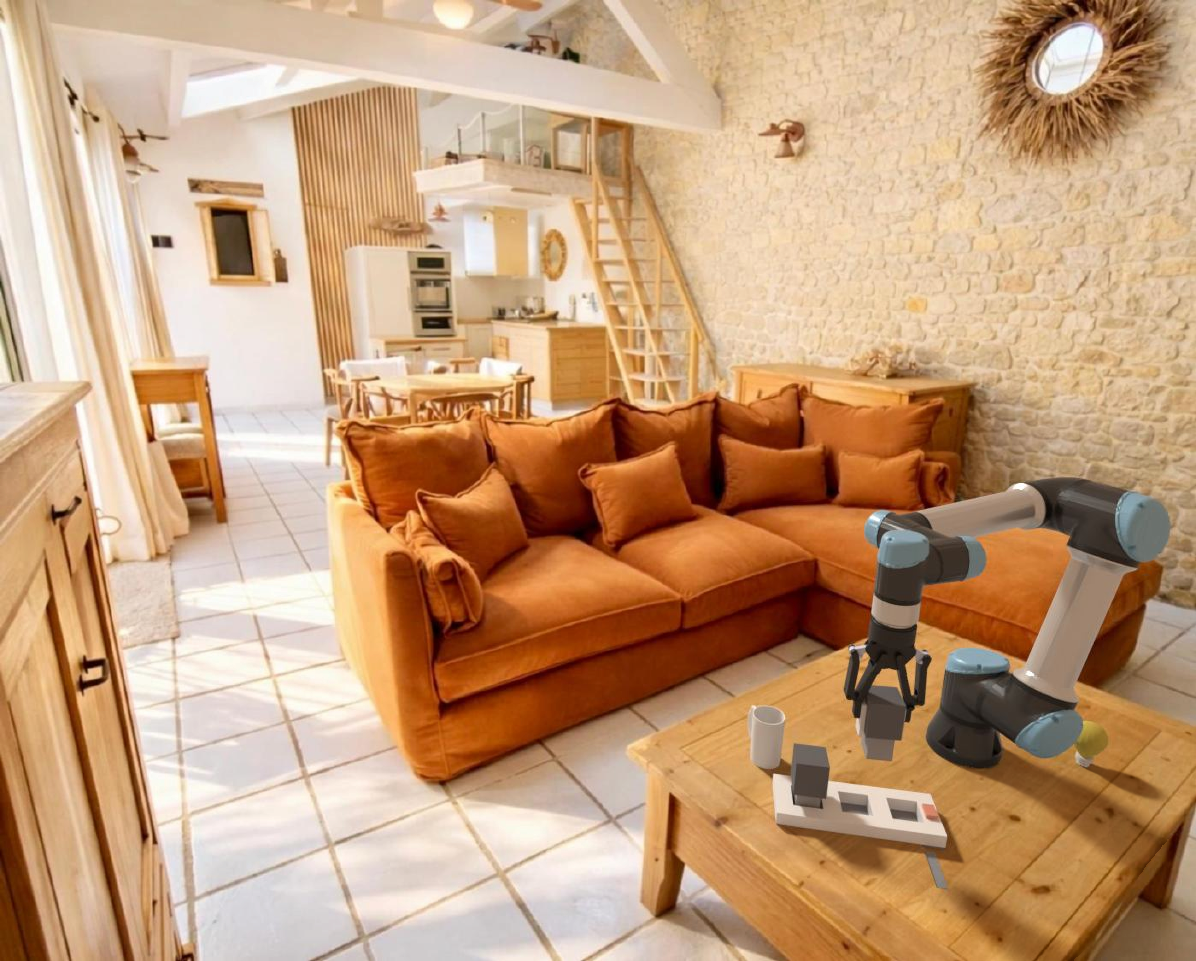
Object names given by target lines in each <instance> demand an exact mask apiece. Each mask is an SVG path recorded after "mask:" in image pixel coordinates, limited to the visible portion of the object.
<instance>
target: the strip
mask: <svg viewBox="0 0 1196 961" xmlns="http://www.w3.org/2000/svg"><path fill="white" fill-rule="evenodd" d="M771 785H772V795H773V806H774V808H773V809H774V817H775V818H774V819H775V825H781V826H787V827H795V828H802V829H808V830H816V831H821V832H829V833H830V832H831V833H835V834H837V833H838V834H843V835H850V836H858V837H864V838H873V839H880V840H886V841H892V842H899V843H900V842H901V843H906V844H913V845H914V844H915V845H921V846H922V848H923V847H924V848H930V849H936V850H942V851H946V846H947V841H948V834H947V832H946V829H945V827H944V825H943V822H942V820H941V817H940V814H939V812H938V810H937V807H936V804H935V801H934V799H933V798H932V795H931V793H923V792H918V791H917V792H916V791H911V790H909V791H908V790H903V789H902V790H901V789H893V788H886V787H878V786H871V785H865V784H864V785H862V784H856V783H848V782H841V781H834V780H828V788H827V796H826V799H822V798H821V801H820V809H819V808H811V807H804V806H797V805H794V802H793V788H792V780H791V775H788V774H787V775H786V774H780V773H779V774H778V773H772V784H771Z"/></svg>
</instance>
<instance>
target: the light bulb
mask: <svg viewBox="0 0 1196 961" xmlns="http://www.w3.org/2000/svg"><path fill="white" fill-rule="evenodd" d="M1073 745H1074V748H1075V749H1076V751H1075V754H1074V758H1075V759H1076V764H1077V763H1078V764H1077V765H1079V766H1080V765H1081V766H1080V767H1083V766H1084V768H1089V767H1090V765H1091V764H1093V763H1094V757H1095V756H1097V755H1099V754H1100V753H1102V752H1103V751H1104V750H1106V749H1107V747H1108V745H1109V736H1108V733H1107V732H1106V730H1105V729H1104V728H1103V727H1102V726H1101V725H1099V724H1098V723H1096V722H1094V721H1090V720H1083V730H1082V733H1081V735H1080V736H1079V738H1078V739H1077V741H1076V742H1075V743H1074V744H1073Z"/></svg>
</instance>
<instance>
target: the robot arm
mask: <svg viewBox="0 0 1196 961" xmlns="http://www.w3.org/2000/svg"><path fill="white" fill-rule="evenodd" d="M863 528H864V530H863V535H864V538H865V540H866V541H867V543H868V544H870V545H871V546H873V547H875V548H876V549H877V550H878V552H877V553H876V554H877V560H876V561H877V562H876V570H875V580H874V590H873V597H872V603H871V604H872V605H871V616H870V620H869V625H868V635H867V639H866V641H865V642H864V644H863V645H855V644H852V643H851V644H849V645H848V647H847V648H848V654H849V659H848V665H847V669H846V675H845V680H844V685H843V693H844V695H845V698H846V700H847V701H852V706H851V707H852V708H851V712H852V714H853V718H854V719H856V720H855V730H856V732H857V736H858V737H859V738H862V737H863V733H864V725H865V718H866V710H867V704H866V702H865V698H866V696H867V694H868V692H869V690H870V688H871V686H872V685H874V683H875V680H876V678H877V676H878V675H880V673H881V672H882V670H888V669H890V670H893V671H896V674H897V680H898V683H899V687H900V694H901V696H902V699H903V701H904V703H905V705H906V712H905V719H904V724H905V723H910V722H911V720H912V712H914V711H915V709H916V707H917V706H919V707H924V705H925V704H926V693H927V680H928V669H929V667H930V665H931V663H932V661H933V659H932V657H931V655H930V653H929V652H928V651H927V649H921V650H920V649H918V648H916V646H915V643H916V638H917V631H918V622H919V619H920V610H921V604H922V603H921V601H922V600H923V599H922V597H923V591H924V587H926V586H933V585H940V584H948V583H953V582H954V583H955V582H963V581H966V580H969V579H970V580H971V579H974V578H977V577H979V576H981V574H982V573H983V572H984V571H985V569H986V565H987V554H986V551H985V548H984V547H983V545H982V543H981V542H980V541H979V540H977V539H976V538H979V537H983V536H987V535H988V536H989V535H991V534H996V533H1000V532H1004V531H1008V530H1013V529H1018V528H1019V529H1021V530H1025V531H1030V530H1034V529H1045V530H1049V531H1053V532H1058V533H1061V534H1063V535H1064V536H1065V535H1066V536H1068V537H1069V538H1068V540H1067V542H1066V545H1065V547H1066V549H1067V551H1068V552H1069V554H1070V559H1069V562H1068V564H1067V566H1066V569H1065V570H1064V573H1063V576H1062V578H1061V581H1060V582H1059V585H1058V587H1057V590H1056V592H1055V595H1054V597H1053V599H1052V601H1051V604H1050V606H1049V608H1048V611H1047V614H1046V616H1045V618H1044V621H1043V622H1042V625H1041V627H1040V630H1039V632H1038V635H1037V637H1036V639H1035V641H1034V644H1033V645H1032V649H1031V651H1030V653H1029V655H1028V657H1027V660H1026V663H1025V665H1024V666H1023V667H1020V668H1017V669H1013V670H1012V672H1010V670H1011V662H1010V661H1009V659H1008V657H1006V656H1004V655H1003V654H1001V653H998V652H997V651H993V650H989V649H986V648H979V647H960V648H957V649H955V650H952V651H951V652H950V653H949V655H948V656H947V657H948V658H947V661H946V665H945V666H944V674H943V681H942V687H941V695H940V696H941V697H940V702H939V707H938V709H937V711H936V712H935V714H934V715H933V717H932V718H931V720H930V722H929V723H928V725H927V727H926V734H925V739H926V743H927V744H928V746H929V747H930V748H931V750H933V751H934V753H936V754H937V755H939V756H940V757H941V758H943V759H945V760H947V761H949V762H951V763H954V764H956V765H959V766H962V767H965V768H971V769H981V770H983V769H991V768H994V767H996V766H997V765H999V764H1000V762H1002V757H1003V748H1004V747H1003V743H1002V737H1001V735H1002V736H1004V737H1005V738H1006V739H1007V740H1009V741H1011V742H1012V743H1013V744H1015V745H1016V747H1017V748H1019V749H1022V750H1024V751H1026V752H1027V753H1029V754H1030V755H1032V756H1033V757H1036V758H1039V759H1051V758H1055V757H1058V756H1060V755H1062V754H1063V753H1065V752H1067V751H1068V750H1069V749H1070V748H1071V747H1073V745H1074V743H1075V742H1076V741H1077V739H1078V738H1079V736H1080V735H1081V733H1082V730H1083V721H1084V720H1083V717H1082V715H1081V714H1080V713H1079V712H1078V711H1076V708H1077V706H1078V703H1079V700H1080V698H1079V695H1078V693H1077V692H1076V690H1075V686H1076V683H1077V681H1078V679H1079V677H1080V675H1081V673H1082V670H1083V667H1084V665H1085V662H1086V661H1087V659H1088V656H1089V654H1090V652H1091V649H1092V648H1093V645H1094V642H1095V641H1096V639H1097V637H1098V634H1099V632H1100V629H1101V627H1102V625H1103V623H1104V620H1105V618H1106V616H1107V613H1108V611H1109V610H1110V607H1111V604H1112V603H1113V600H1114V598H1115V595H1116V593H1117V591H1118V589H1119V586H1120V584H1121V582H1122V580H1123V577H1124V575H1126V574H1128V573H1132V572H1135V571H1136V570H1138V569H1139V567H1140V564H1141V562H1142V563H1148V562H1151V561H1153V560H1155V559H1157V558H1158V556H1159V554H1161V553H1162V552H1163V551H1164V550H1165V548H1166V546H1167V544H1168V542H1169V538H1170V534H1171V518H1170V516H1169V512H1168V510H1167V508H1166V506H1165V505H1164V504H1163V502H1161V501H1159V500H1158V499H1156V498H1154V497H1150V496H1149V495H1145V494H1142V493H1140V492H1138V491H1133V490H1128V489H1124V488H1122V487H1121V488H1120V487H1116V486H1112V485H1109V484H1105V483H1101V482H1097V481H1093V480H1091V479H1090V480H1089V479H1086V478H1082V477H1075V476H1060V477H1059V476H1057V477H1049V478H1040V479H1034V480H1028V481H1023V482H1019V483H1014V484H1012V485H1011V486H1010V487H1008V488H1007V489H1006V490H1005V491H1002V492H998V493H997V492H996V493H993V494H989V495H984V496H979V497H974V498H970V499H965V500H961V501H957V502H952V503H947V504H944V505H939V506H933V507H930V508H926V509H921V510H916V511H911V512H907V513H906V512H905V513H902V514H901V513H900V514H897V513H896V512H894V511H889V510H886V509H879V510H876V511H875V512H873V513H872V514H870V515H869V516H868V518H867V519H866V521H865V524H864V527H863ZM864 654H867V656H868V657H869V659H868V662H867V666H866V668H865V669H864V672H863V673H862V676H861V678H860V680H859V681H858V684H857V680H858V675H859V670H860V664H861V660H862V659H863V658H864ZM913 658H914V660H915V669H914V670H915V672H914V684H913V685H914V686H913V694H912V691H911V687H910V683H909V678H908V673H907V672H908V670H907V668H906V665H907V664H908V663H909V662H910V661H911V660H912V659H913ZM904 728H905V725H904V726H903V732H902V739H901V741H900V742H902V741H903V736H904Z"/></svg>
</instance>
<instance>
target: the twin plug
mask: <svg viewBox="0 0 1196 961" xmlns="http://www.w3.org/2000/svg"><path fill="white" fill-rule="evenodd" d="M828 757H829V756H828V753H827V747H826V746H819V745H811V744H801V743H793V748H792V757H791V765H790V766H791V767H790V776H791V780H792V788H793V802H794V805H797V806H804V807H811V808H819V809H820V801H821V798H822V799H826V796H827V788H828V781H830V770H831V765H830V761H829V758H828Z"/></svg>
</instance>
